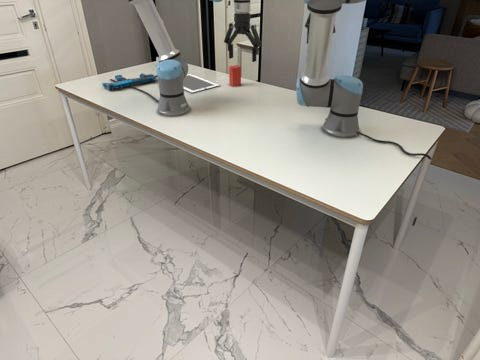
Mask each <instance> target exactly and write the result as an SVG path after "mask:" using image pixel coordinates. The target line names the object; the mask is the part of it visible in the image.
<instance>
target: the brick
mask: <svg viewBox="0 0 480 360" xmlns="http://www.w3.org/2000/svg"><path fill="white" fill-rule="evenodd" d="M228 73H229V74H228V75H229V85H230V86H231V87H240V86H242V67H241V66H240V65H239V64H235V65H229V66H228Z"/></svg>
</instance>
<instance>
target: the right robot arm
mask: <svg viewBox="0 0 480 360" xmlns="http://www.w3.org/2000/svg"><path fill="white" fill-rule="evenodd" d="M365 1H366V0H303V1H302V2H303V3H304V4H306V9H307V11H308V12H309V14H308V16H307V18H306V22H305V24H304V27H305V28H306V29H307V30H306V44H307V47H306V57H305V58H306V59H305V66H304V71H303V72H301V74H300V77H299V76H298V77H297V79H296V102H297V104H298V105H299V106H301V107H307V108H310V107H311V108H313V107H314V108H328V109H329V112H328V115H327V117H326V118H325V119H324V123H323V126H322V130H323V132H324V133H325V134H326V135H329V136H332V137H335V138H339V139H341V138H342V139H349V138H354V137H356V136H357V135H360V136H362V137H364V138H367V139H369V140H371V141H373V142H377V143H381V144H382V143H383V144H391V145H395V146H396V147H398V148H399V149H400V151H402V153H404V154H405V155H408V156H411V157H412V156H414V157H416V156H417V157H418V156H421V157H426V158H427V159H428V160H432V157H431V156H430V155H429V154H428V153H422V152H419V153H418V152H417V153H412V152H409V151H406V150H405V149H404V148H403V146H402V145H400V143H397V142H395V141H391V140H380V139H377V138H373V137H372V136H370V135H367V134H365V133H362V132H361V131H360V125H359V118H358V117H359V116H358V114H359V111H360V110H359V109H360V105H361V99H362V95H363V89H364V83H363V82H362V80H361V79H359V78H358V77H355V76H351V75H348V74H337V75H334V79H333V78H331V76H330V74H329V73H328V68H329V67H328V66H329V61H330V53H331V48H332V41H333V35H334V34H336V25H335V21H336V16H337V14H338V13H339V12H340V11H342V7H343V5H351V4H352V5H353V4H359V3H364V2H365ZM417 219H418V216H416V217H414V218H413V222H412V224H411V225H412V227H415V225H416V222H417Z"/></svg>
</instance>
